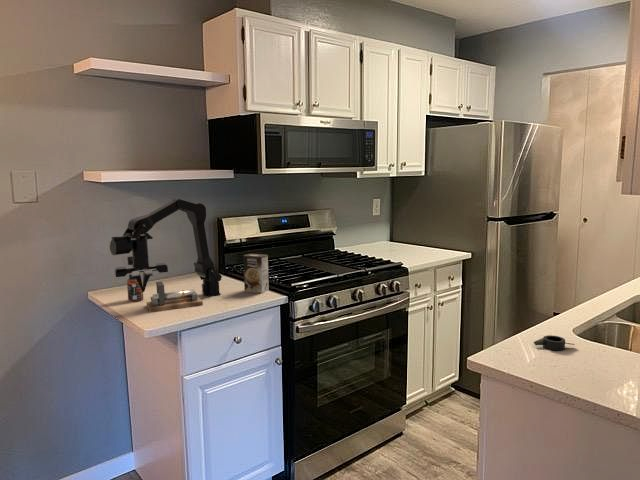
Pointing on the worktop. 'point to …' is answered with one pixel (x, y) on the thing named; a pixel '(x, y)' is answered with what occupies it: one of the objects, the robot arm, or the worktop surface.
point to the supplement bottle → (134, 290)
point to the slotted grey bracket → (161, 292)
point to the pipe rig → (175, 296)
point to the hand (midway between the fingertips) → (143, 291)
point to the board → (175, 304)
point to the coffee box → (256, 273)
